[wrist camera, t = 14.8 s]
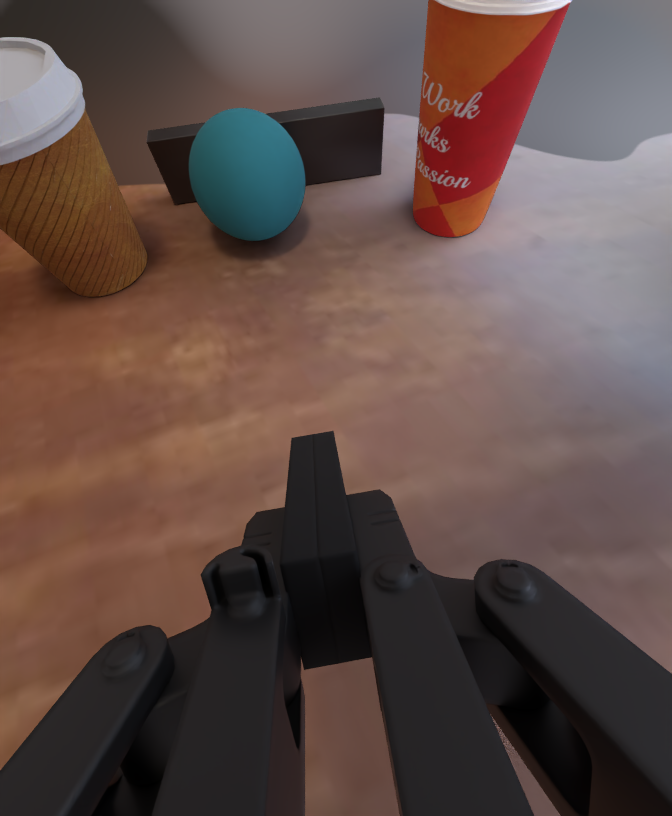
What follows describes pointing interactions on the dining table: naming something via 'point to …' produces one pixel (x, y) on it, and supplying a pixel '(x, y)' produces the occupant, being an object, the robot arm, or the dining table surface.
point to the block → (311, 132)
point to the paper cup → (475, 102)
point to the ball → (247, 174)
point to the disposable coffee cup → (60, 176)
